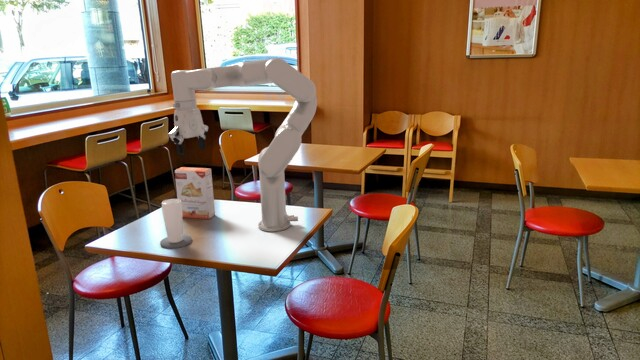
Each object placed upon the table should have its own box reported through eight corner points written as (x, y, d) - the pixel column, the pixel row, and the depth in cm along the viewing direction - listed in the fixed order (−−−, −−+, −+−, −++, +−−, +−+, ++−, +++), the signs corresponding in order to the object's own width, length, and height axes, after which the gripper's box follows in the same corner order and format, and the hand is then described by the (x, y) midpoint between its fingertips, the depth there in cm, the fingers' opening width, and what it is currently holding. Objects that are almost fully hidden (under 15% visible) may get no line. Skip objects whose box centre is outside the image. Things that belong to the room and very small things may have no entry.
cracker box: (178, 217, 187) (173, 169, 182) (186, 213, 193) (181, 166, 187) (209, 219, 184) (204, 171, 178) (215, 215, 189) (211, 167, 184)
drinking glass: (186, 242, 158) (181, 202, 155) (166, 245, 156) (161, 205, 152) (184, 236, 165) (180, 197, 161) (165, 238, 162) (161, 199, 159)
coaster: (193, 235, 167) (193, 233, 167) (189, 247, 156) (189, 245, 156) (163, 238, 165) (163, 236, 165) (157, 249, 155) (157, 247, 155)
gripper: (172, 108, 150) (179, 157, 155) (211, 103, 164) (216, 148, 168) (159, 108, 155) (166, 156, 159) (197, 102, 168) (203, 147, 173)
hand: (192, 152), depth 164 cm, fingers open, 9 cm apart
